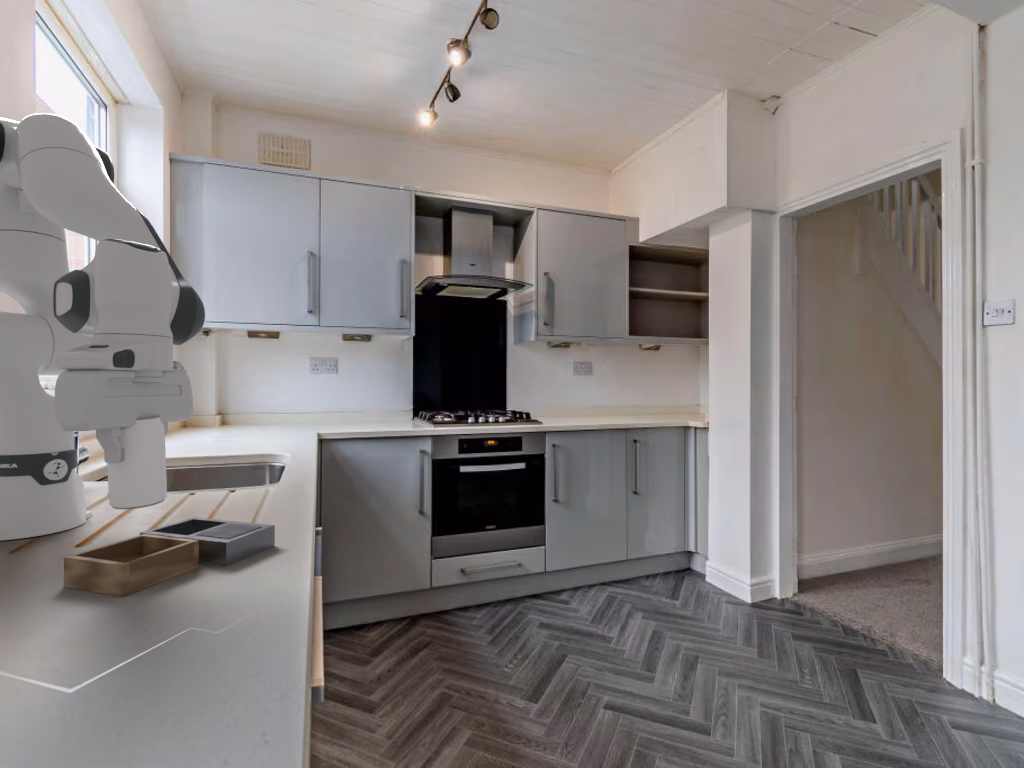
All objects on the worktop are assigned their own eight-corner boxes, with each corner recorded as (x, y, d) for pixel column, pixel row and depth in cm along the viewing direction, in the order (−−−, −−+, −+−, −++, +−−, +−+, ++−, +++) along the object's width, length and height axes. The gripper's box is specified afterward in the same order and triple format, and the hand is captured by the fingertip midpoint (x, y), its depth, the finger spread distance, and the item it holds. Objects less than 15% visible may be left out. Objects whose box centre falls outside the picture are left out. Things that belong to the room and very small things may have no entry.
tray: (139, 555, 78) (139, 531, 78) (194, 537, 87) (194, 516, 87) (226, 566, 73) (226, 542, 73) (274, 546, 82) (274, 524, 82)
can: (137, 511, 66) (133, 420, 65) (96, 508, 67) (92, 419, 67) (178, 498, 72) (175, 415, 72) (140, 496, 73) (137, 414, 73)
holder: (63, 586, 66) (63, 557, 66) (144, 559, 76) (144, 533, 76) (122, 597, 62) (122, 565, 62) (198, 567, 73) (198, 540, 73)
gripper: (165, 361, 80) (165, 448, 80) (42, 353, 59) (42, 471, 59) (204, 361, 79) (204, 448, 79) (95, 353, 59) (95, 471, 59)
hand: (134, 458), depth 69 cm, fingers closed on can, 5 cm apart
